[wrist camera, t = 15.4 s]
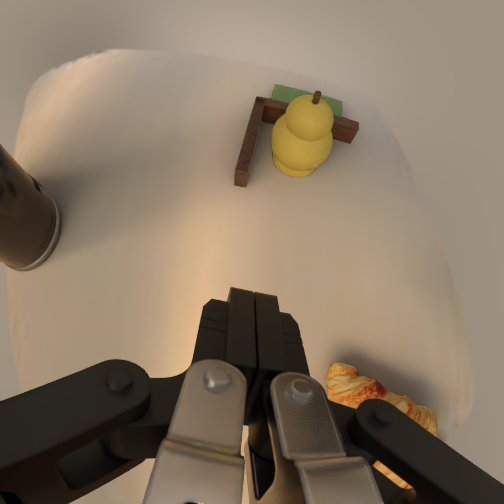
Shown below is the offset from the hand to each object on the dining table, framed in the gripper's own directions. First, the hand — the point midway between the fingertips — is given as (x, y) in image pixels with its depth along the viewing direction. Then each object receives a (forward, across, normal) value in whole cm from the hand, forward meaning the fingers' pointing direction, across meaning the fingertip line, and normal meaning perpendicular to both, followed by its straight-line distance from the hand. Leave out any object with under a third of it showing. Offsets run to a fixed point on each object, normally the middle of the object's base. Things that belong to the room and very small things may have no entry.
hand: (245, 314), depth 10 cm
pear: (+27, -5, -4) cm, 28 cm away
